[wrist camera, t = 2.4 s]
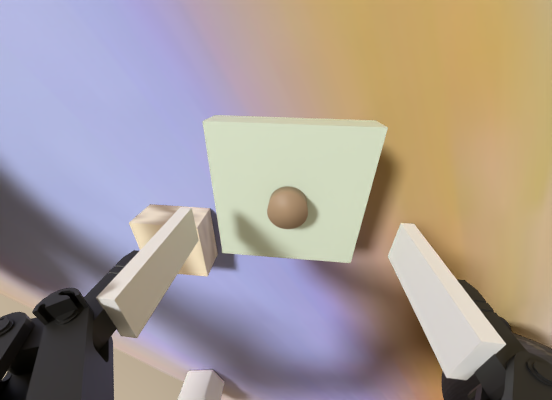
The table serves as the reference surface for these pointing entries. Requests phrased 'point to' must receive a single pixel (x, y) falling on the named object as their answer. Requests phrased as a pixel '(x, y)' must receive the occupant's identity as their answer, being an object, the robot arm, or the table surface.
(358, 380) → the table surface
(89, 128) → the table surface
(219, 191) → the lid
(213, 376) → the medicine bottle
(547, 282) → the table surface
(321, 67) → the table surface
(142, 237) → the stand
